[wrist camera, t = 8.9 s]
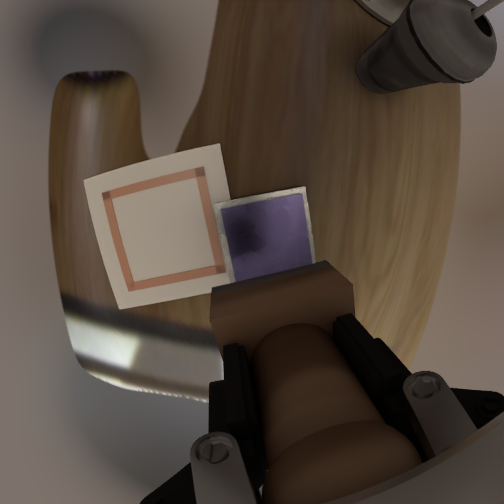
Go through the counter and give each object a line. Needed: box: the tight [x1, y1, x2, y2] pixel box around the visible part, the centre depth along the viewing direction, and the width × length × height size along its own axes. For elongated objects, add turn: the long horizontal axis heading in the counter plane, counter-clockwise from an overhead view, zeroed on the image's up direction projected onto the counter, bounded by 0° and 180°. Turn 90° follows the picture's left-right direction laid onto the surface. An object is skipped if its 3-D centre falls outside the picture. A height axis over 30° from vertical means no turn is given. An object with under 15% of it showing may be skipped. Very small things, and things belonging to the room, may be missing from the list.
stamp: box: [210, 260, 423, 504], centre depth 8 cm, size 5×5×11 cm
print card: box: [84, 143, 231, 309], centre depth 26 cm, size 13×13×1 cm
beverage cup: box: [356, 0, 504, 94], centre depth 14 cm, size 7×7×20 cm
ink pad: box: [214, 186, 316, 283], centre depth 27 cm, size 11×8×2 cm
